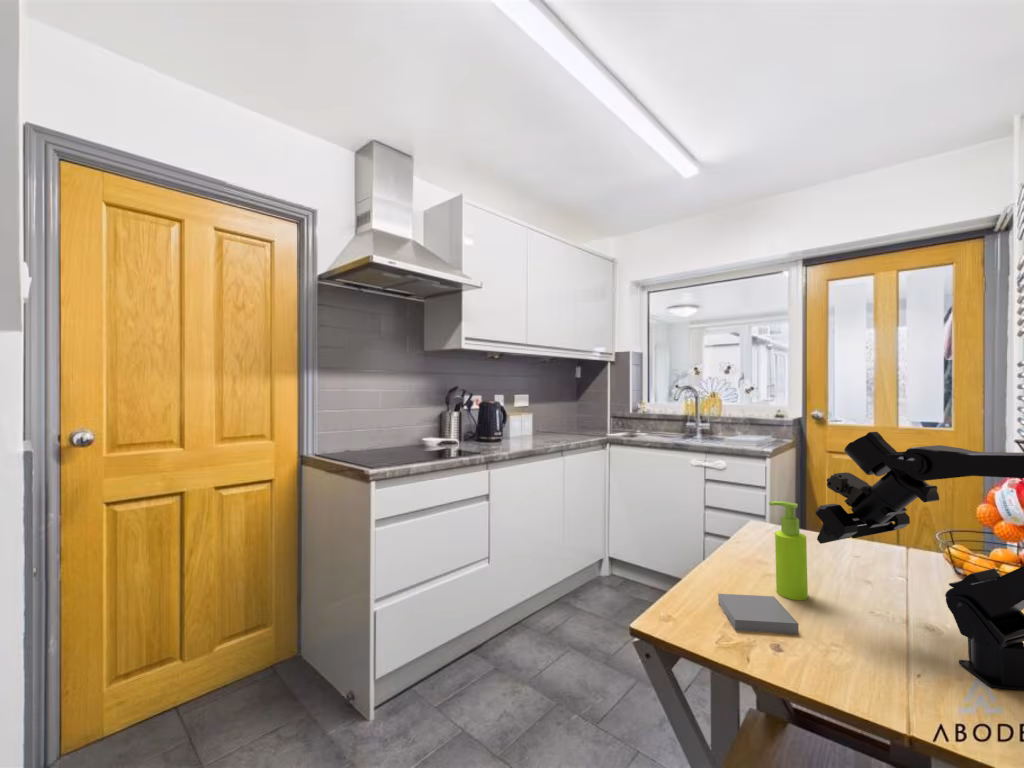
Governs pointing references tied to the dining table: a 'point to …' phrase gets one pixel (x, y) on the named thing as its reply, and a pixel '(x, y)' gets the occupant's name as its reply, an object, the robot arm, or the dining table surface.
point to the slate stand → (757, 614)
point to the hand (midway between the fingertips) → (835, 538)
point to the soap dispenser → (790, 556)
